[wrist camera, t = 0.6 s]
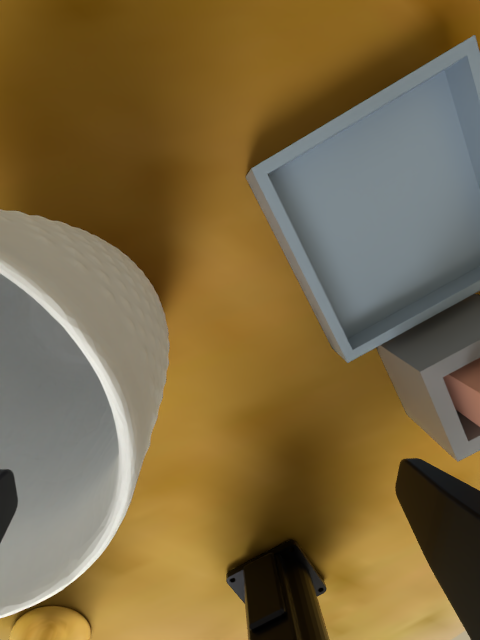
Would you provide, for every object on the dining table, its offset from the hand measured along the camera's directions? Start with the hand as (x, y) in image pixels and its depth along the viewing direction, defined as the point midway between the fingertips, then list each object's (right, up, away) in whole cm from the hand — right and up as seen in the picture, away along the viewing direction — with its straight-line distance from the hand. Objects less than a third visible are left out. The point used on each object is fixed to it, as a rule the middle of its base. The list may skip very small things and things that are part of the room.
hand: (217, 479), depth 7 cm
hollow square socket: (+14, +1, +15) cm, 21 cm away
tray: (+9, +10, +12) cm, 18 cm away
